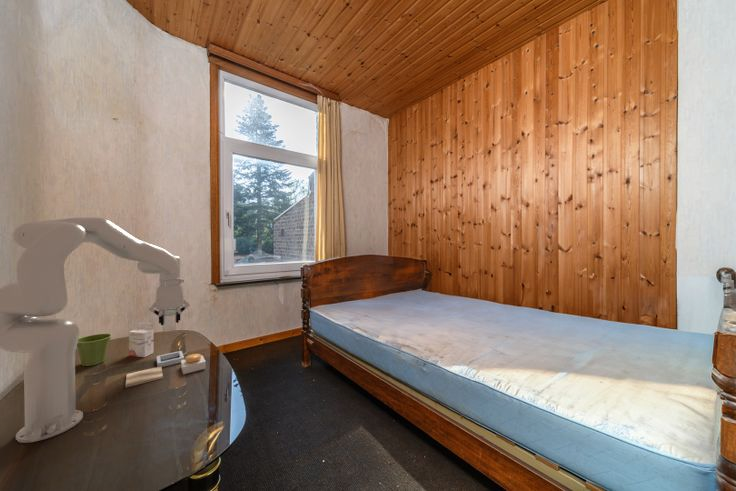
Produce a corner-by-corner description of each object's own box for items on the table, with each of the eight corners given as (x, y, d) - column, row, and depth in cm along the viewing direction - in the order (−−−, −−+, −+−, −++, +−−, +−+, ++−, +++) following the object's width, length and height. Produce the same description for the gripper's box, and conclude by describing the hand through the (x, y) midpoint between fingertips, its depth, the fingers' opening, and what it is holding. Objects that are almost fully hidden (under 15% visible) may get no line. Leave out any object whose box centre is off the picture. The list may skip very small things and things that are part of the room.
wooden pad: (162, 378, 106) (162, 376, 106) (125, 387, 99) (125, 385, 99) (161, 367, 114) (161, 366, 114) (126, 376, 107) (126, 374, 107)
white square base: (205, 368, 114) (205, 361, 114) (183, 374, 109) (183, 367, 109) (202, 361, 120) (202, 355, 120) (180, 367, 115) (180, 360, 115)
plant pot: (117, 360, 122) (117, 335, 121) (81, 371, 111) (81, 344, 111) (105, 355, 126) (104, 331, 126) (69, 365, 116) (68, 340, 115)
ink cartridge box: (128, 356, 125) (127, 325, 125) (138, 352, 130) (137, 322, 130) (144, 357, 125) (144, 326, 124) (154, 353, 129) (154, 322, 129)
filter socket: (184, 361, 120) (184, 357, 120) (157, 368, 114) (157, 363, 114) (181, 354, 128) (181, 350, 128) (156, 360, 121) (156, 356, 121)
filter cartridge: (177, 329, 120) (177, 309, 120) (162, 332, 117) (163, 311, 117) (176, 327, 124) (176, 307, 124) (162, 329, 121) (162, 309, 121)
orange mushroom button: (202, 366, 114) (201, 356, 114) (186, 370, 111) (186, 360, 111) (199, 362, 119) (199, 352, 119) (184, 365, 115) (184, 356, 115)
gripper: (191, 280, 129) (191, 318, 129) (145, 283, 118) (145, 325, 118) (193, 282, 123) (193, 321, 123) (145, 285, 112) (145, 329, 112)
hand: (169, 323), depth 120 cm, fingers closed on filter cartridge, 5 cm apart
